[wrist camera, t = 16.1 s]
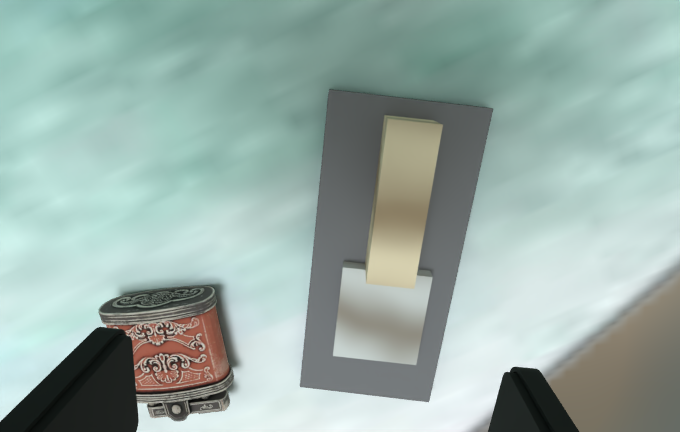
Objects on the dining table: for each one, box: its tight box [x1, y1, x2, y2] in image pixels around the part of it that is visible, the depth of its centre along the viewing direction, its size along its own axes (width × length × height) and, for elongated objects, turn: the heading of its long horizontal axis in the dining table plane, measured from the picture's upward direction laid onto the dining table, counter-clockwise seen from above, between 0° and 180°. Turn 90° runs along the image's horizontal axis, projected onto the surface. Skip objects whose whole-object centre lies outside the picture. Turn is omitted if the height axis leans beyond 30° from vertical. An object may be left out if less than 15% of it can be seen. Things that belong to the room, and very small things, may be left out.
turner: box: [333, 115, 443, 365], centre depth 26 cm, size 17×6×3 cm, turn 174°
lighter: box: [99, 286, 234, 421], centre depth 31 cm, size 8×3×10 cm
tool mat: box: [300, 89, 493, 402], centre depth 29 cm, size 22×10×1 cm, turn 174°
